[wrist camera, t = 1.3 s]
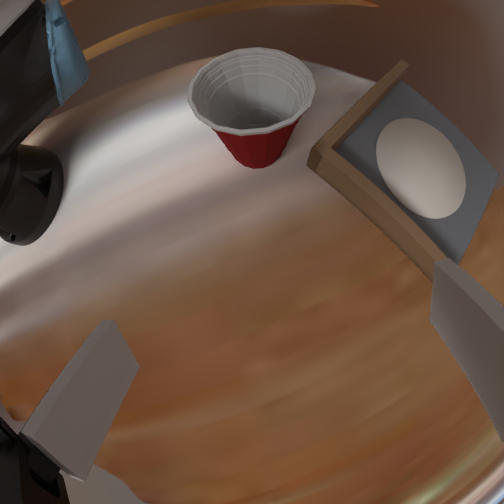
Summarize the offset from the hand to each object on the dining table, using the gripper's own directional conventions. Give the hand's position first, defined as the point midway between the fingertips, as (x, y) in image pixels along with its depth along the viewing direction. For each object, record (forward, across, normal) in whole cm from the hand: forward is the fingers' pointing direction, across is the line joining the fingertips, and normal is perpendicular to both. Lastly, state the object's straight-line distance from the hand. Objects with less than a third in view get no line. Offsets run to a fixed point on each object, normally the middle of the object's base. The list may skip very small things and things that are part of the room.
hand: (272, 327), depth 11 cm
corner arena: (+26, +20, 0) cm, 32 cm away
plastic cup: (+26, -1, +6) cm, 27 cm away
